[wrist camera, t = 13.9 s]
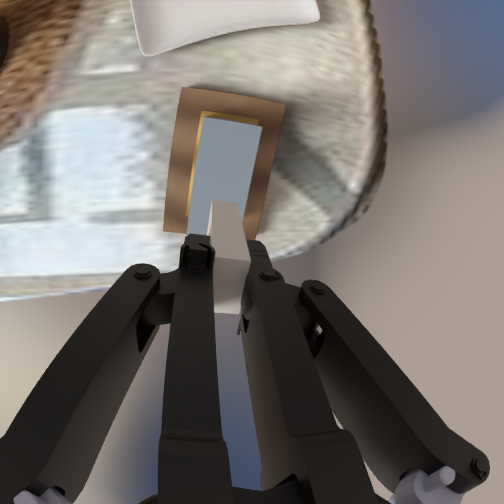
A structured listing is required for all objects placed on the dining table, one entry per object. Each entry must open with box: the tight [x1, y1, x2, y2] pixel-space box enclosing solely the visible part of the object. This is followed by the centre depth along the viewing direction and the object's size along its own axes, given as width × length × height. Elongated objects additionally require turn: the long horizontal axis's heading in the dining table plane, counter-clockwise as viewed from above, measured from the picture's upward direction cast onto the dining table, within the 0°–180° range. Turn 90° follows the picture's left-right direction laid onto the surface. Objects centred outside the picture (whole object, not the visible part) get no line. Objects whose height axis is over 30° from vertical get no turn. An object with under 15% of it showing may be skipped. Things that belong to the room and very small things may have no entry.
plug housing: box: [187, 116, 262, 235], centre depth 29 cm, size 12×6×6 cm, turn 169°
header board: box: [163, 87, 286, 240], centre depth 31 cm, size 18×12×6 cm, turn 169°
